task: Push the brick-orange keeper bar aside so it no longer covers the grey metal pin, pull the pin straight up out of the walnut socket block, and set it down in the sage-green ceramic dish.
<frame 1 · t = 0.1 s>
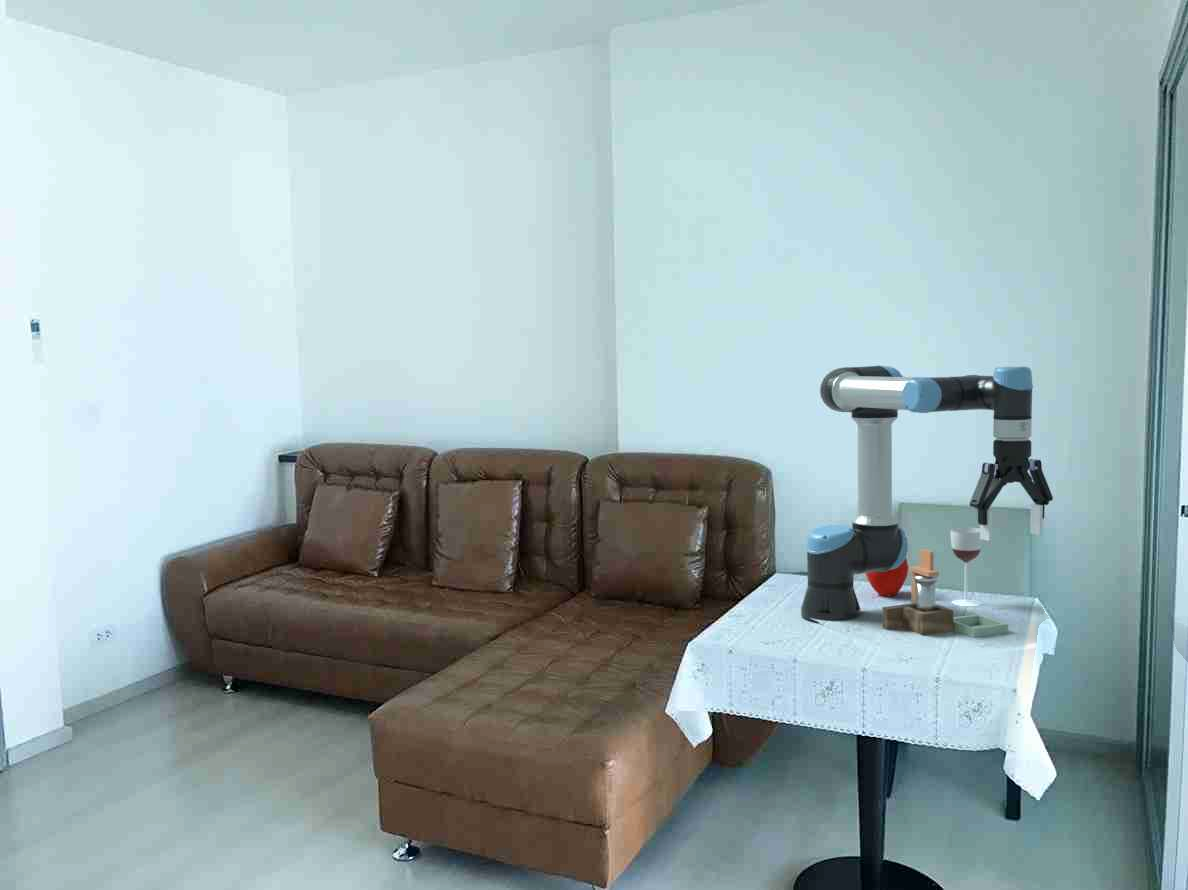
hand: (1011, 537, 210), 28 cm above the table, fingers open, 13 cm apart
apple: (886, 595, 276), on the table
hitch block: (925, 632, 238), on the table
wineglass: (966, 603, 264), on the table
pin: (925, 628, 238), point 1 cm above the table, touching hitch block
dish: (976, 633, 236), on the table
keeper: (923, 578, 238), point 13 cm above the table, slide at 0.0 cm
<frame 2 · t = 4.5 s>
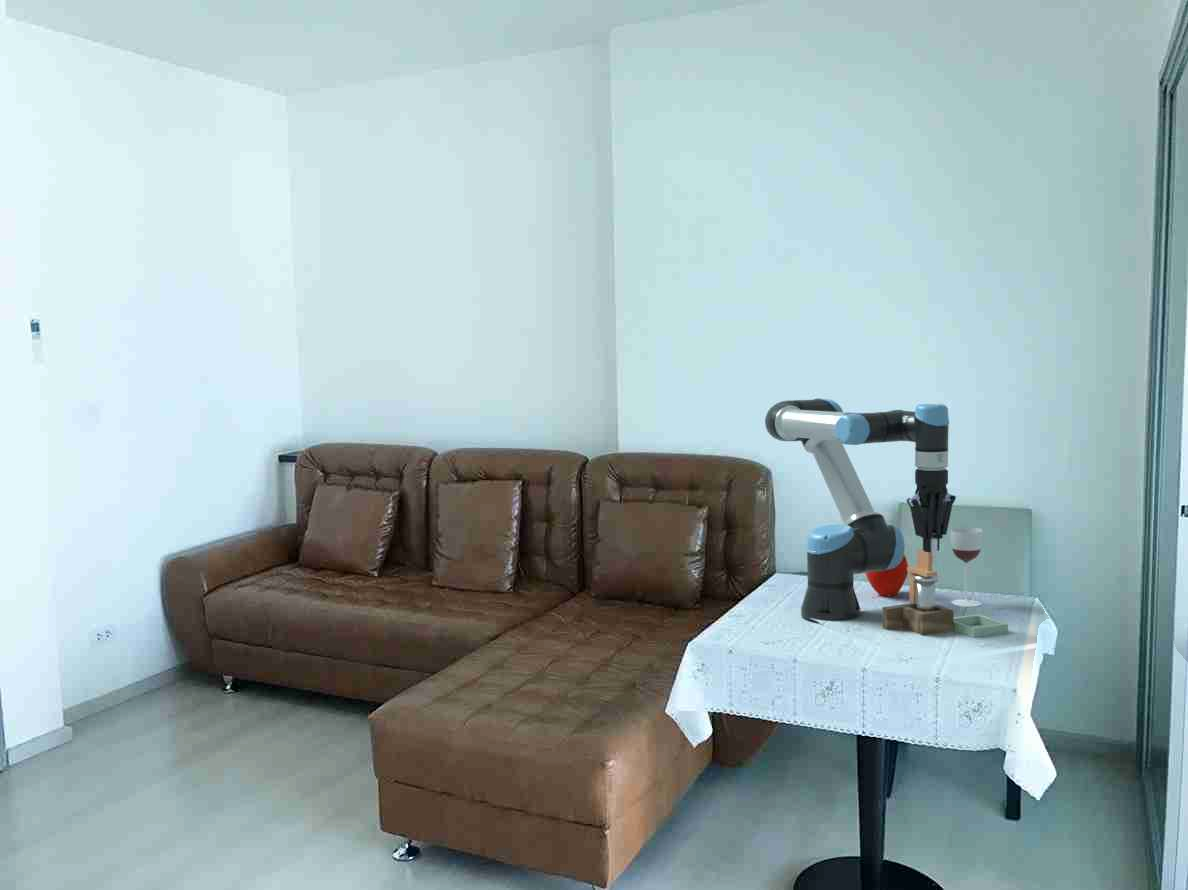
hand: (931, 564, 237), 17 cm above the table, fingers closed
keeper: (921, 578, 237), point 13 cm above the table, slide at 0.5 cm, touching gripper
everything else where it was.
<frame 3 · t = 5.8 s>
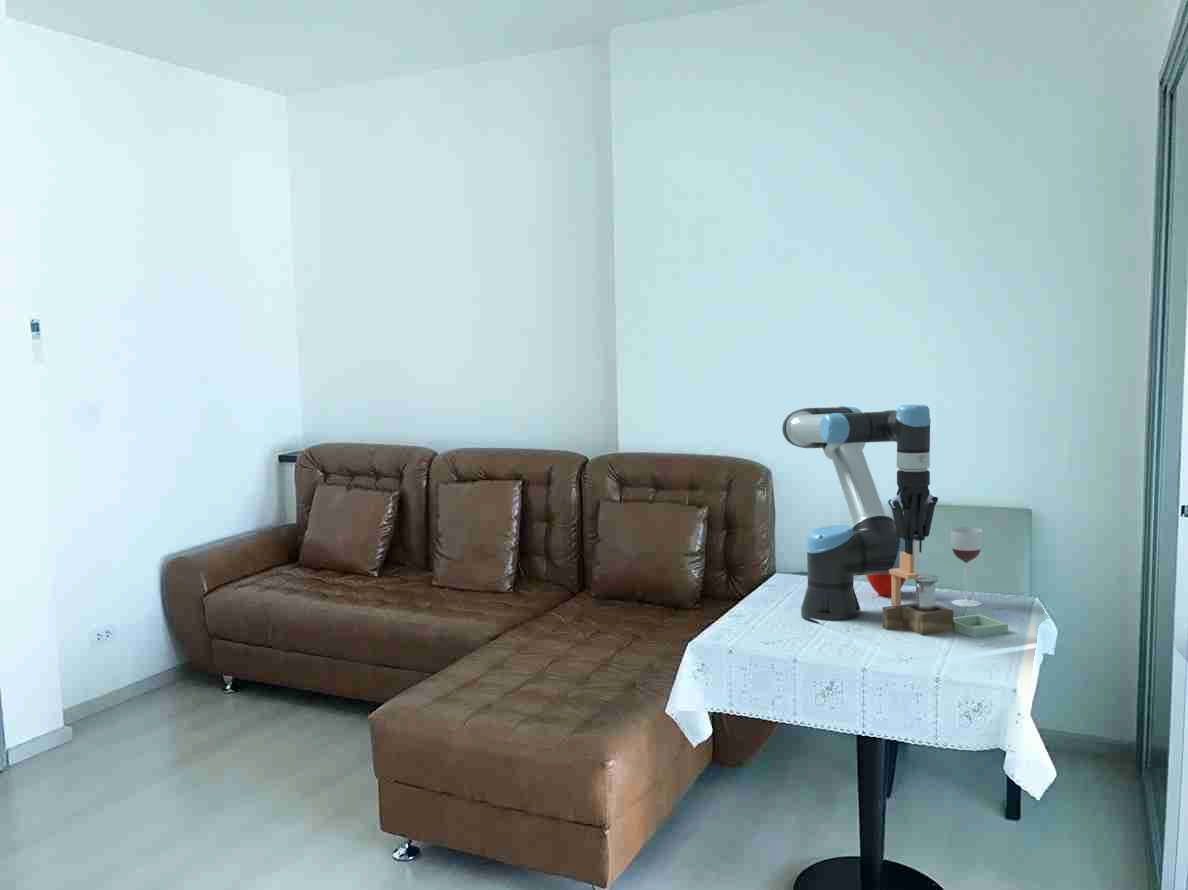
hand: (913, 566, 235), 17 cm above the table, fingers closed
keeper: (903, 580, 236), point 13 cm above the table, slide at 5.8 cm, touching gripper
everything else where it was.
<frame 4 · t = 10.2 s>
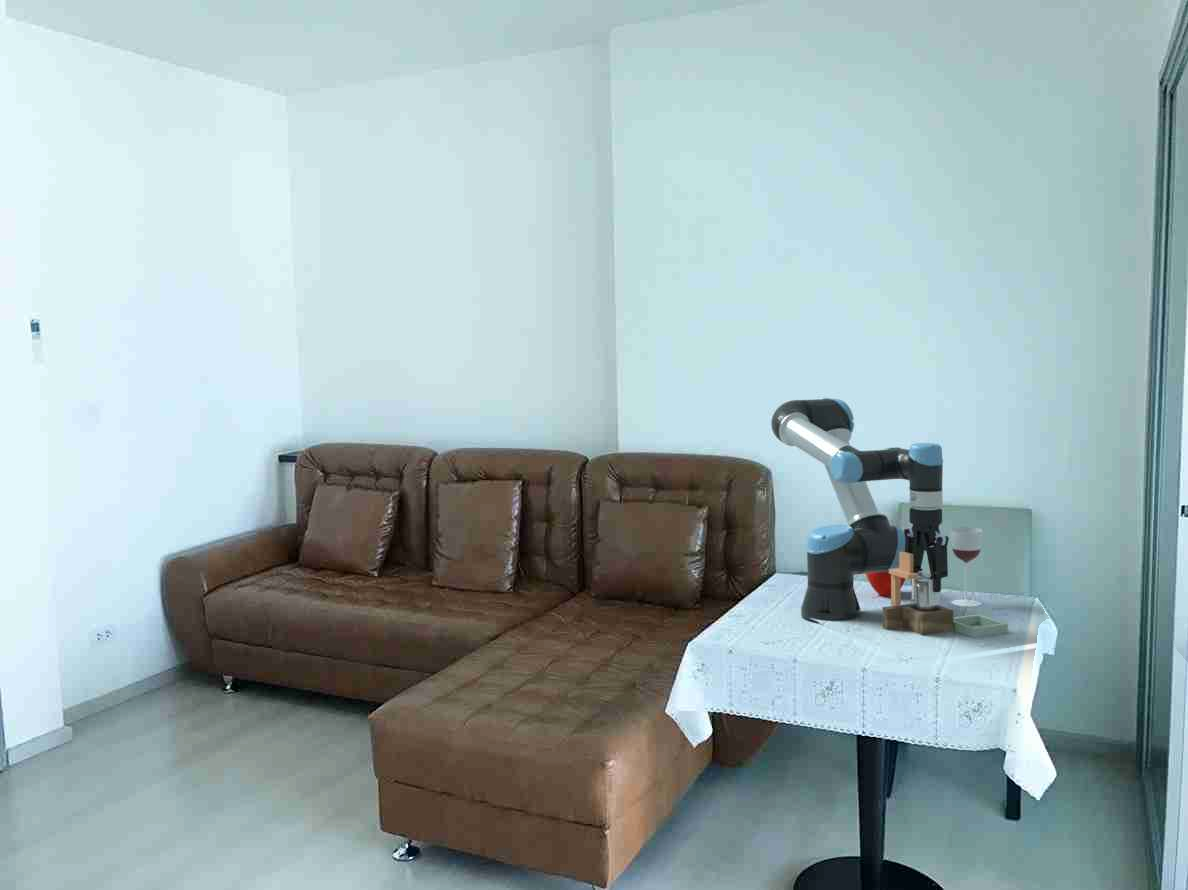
hand: (925, 601, 237), 8 cm above the table, fingers closed on pin, 6 cm apart
pin: (925, 628, 238), point 1 cm above the table, touching gripper, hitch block
keeper: (903, 580, 236), point 13 cm above the table, slide at 5.9 cm
everything else where it was.
when the fingers open (9 cm above the table, at t = 16.2 s): pin drops 2 cm, resting on dish.
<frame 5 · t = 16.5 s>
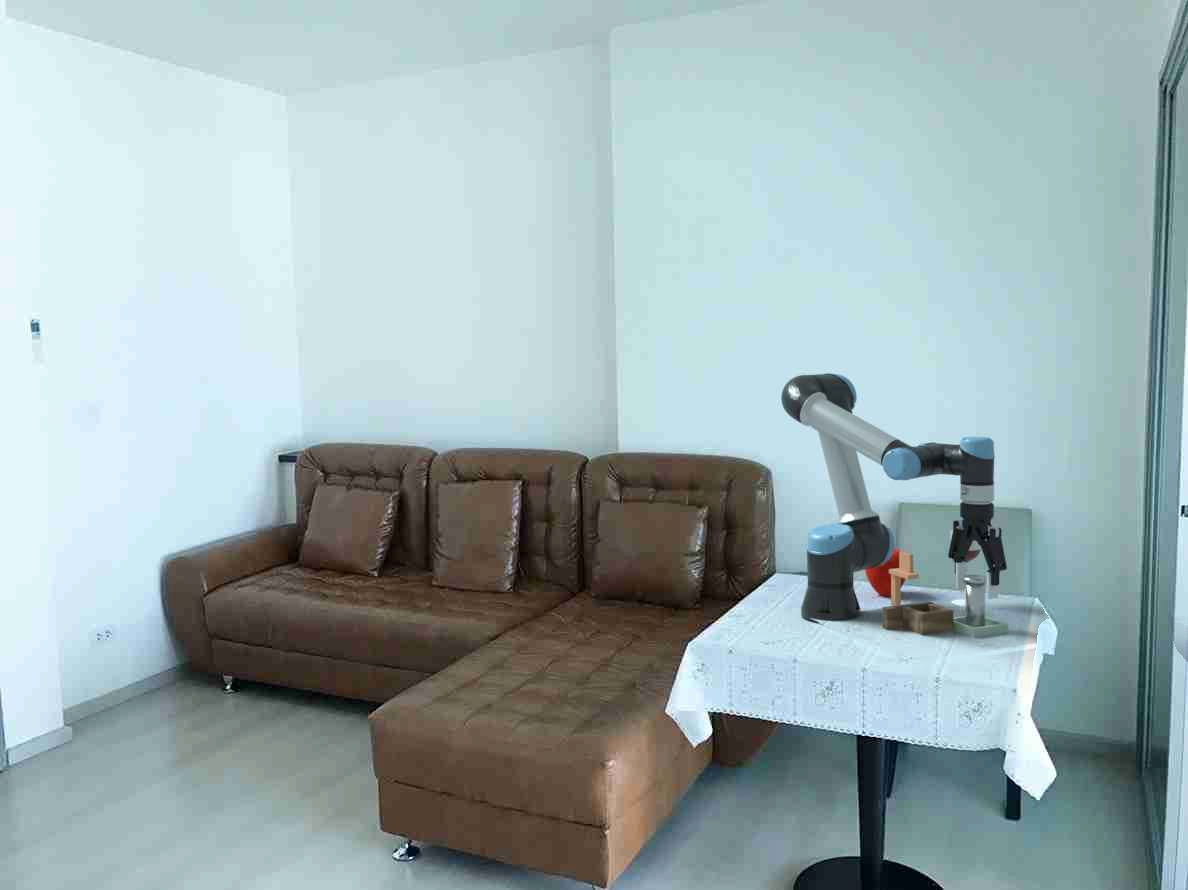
hand: (976, 593, 235), 10 cm above the table, fingers open, 10 cm apart
pin: (975, 630, 236), point 1 cm above the table, touching dish
everything else where it was.
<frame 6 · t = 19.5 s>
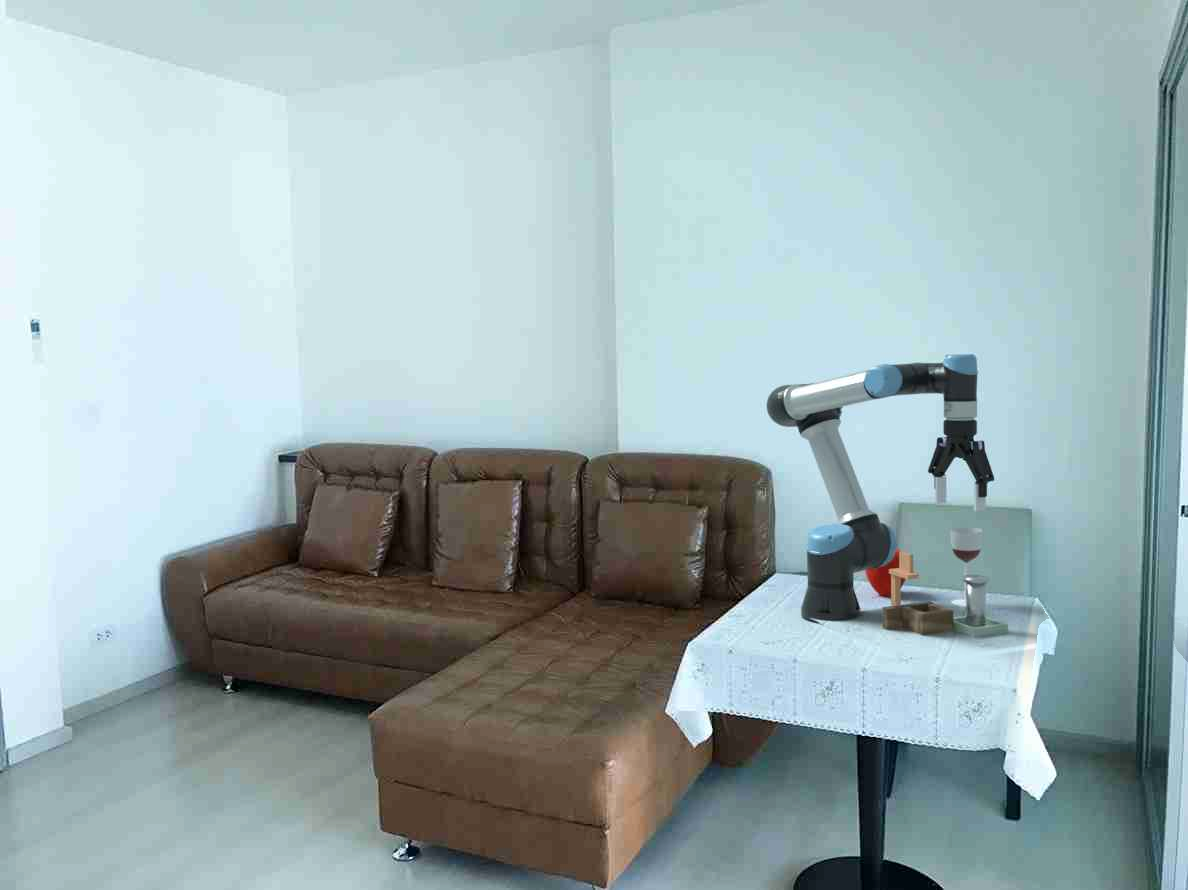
hand: (959, 507, 235), 31 cm above the table, fingers open, 13 cm apart
nothing on the table moved.
at the end: pin inside the target area on the dish (0.1 cm from its centre), point 0.8 cm above the dish's base; keeper slide at 5.9 cm; the gripper is holding nothing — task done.
